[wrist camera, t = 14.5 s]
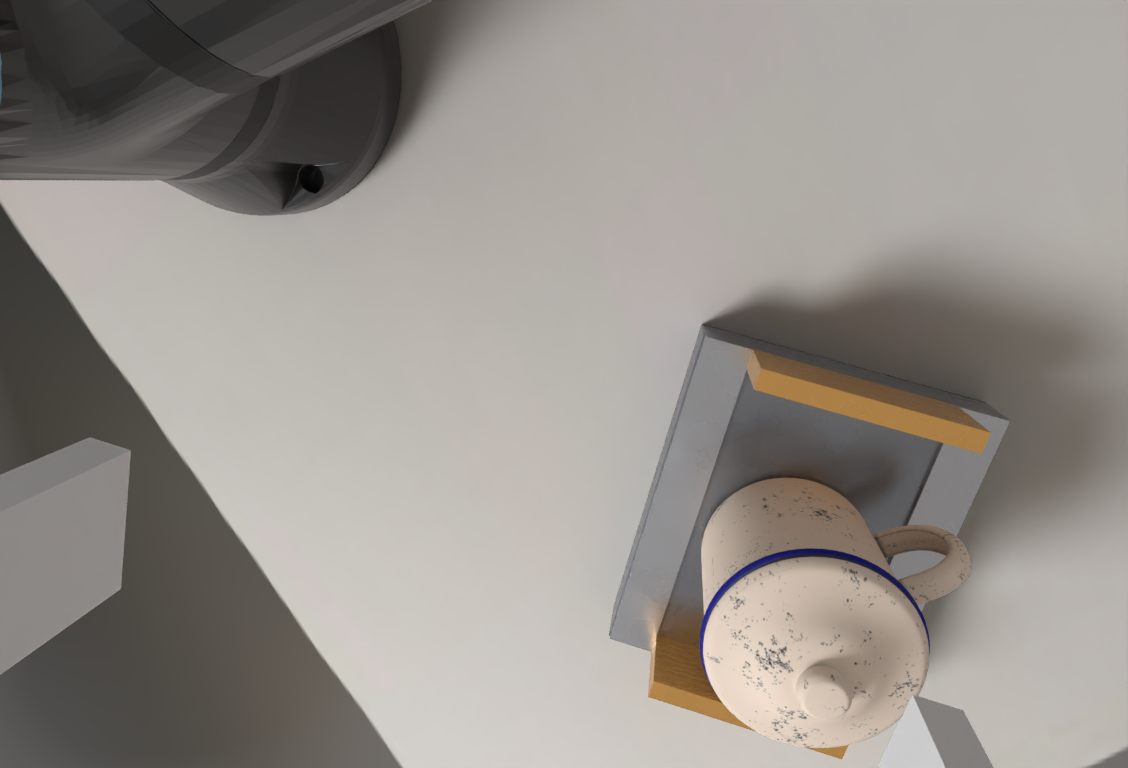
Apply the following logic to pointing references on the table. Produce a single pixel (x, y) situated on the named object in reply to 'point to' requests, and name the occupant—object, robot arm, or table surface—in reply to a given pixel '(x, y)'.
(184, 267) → the table surface
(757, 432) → the grey tray
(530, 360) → the table surface
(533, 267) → the table surface
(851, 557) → the teacup with lid
